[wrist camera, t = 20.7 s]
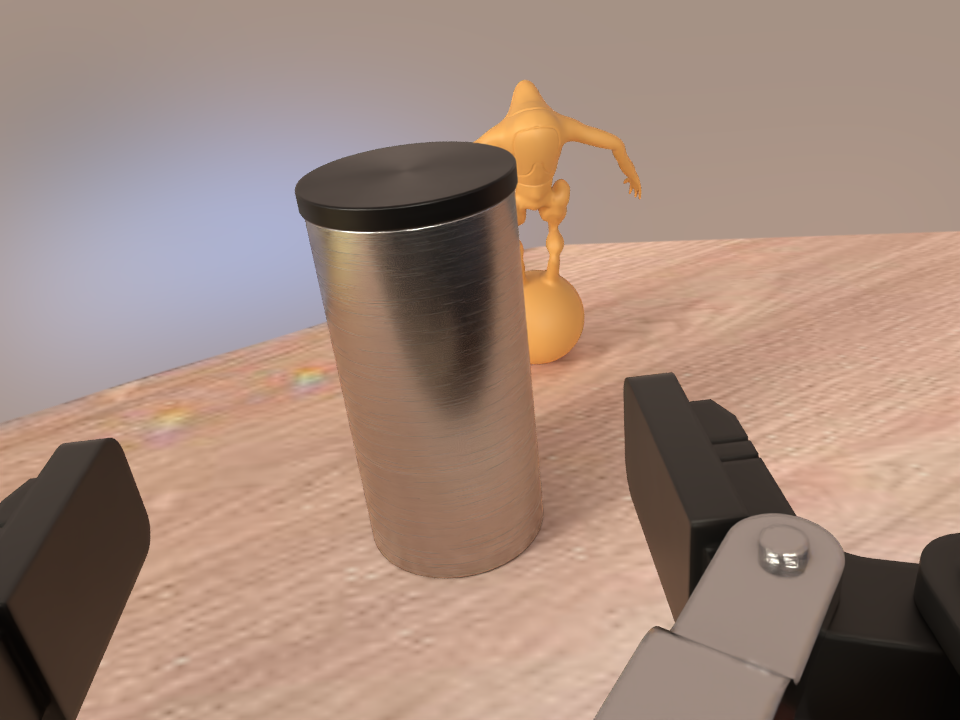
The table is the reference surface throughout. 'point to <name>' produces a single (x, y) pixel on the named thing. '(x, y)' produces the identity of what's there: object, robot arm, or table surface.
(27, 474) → the table surface
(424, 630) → the table surface
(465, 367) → the canister
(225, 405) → the table surface
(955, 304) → the table surface
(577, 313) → the figurine
